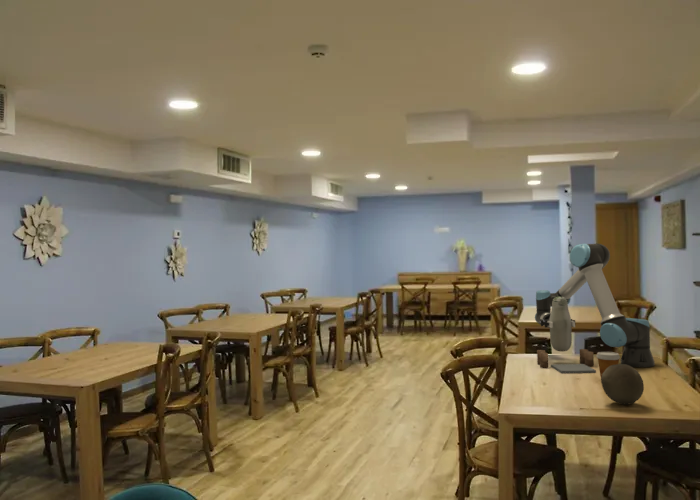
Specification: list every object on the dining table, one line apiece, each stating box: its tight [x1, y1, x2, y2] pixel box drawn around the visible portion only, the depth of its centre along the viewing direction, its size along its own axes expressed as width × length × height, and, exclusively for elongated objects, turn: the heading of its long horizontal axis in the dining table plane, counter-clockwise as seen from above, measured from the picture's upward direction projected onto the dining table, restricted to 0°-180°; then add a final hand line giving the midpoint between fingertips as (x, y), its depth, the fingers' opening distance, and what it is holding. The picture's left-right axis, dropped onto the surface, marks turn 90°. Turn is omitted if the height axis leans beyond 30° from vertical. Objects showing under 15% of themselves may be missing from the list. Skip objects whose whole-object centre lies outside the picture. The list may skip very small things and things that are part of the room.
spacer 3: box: [579, 348, 589, 365], centre depth 293 cm, size 4×4×7 cm
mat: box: [550, 363, 597, 375], centre depth 278 cm, size 16×16×1 cm
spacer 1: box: [536, 349, 546, 366], centre depth 293 cm, size 4×4×7 cm
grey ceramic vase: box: [549, 297, 573, 352], centre depth 293 cm, size 10×10×28 cm
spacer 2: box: [539, 352, 550, 369], centre depth 285 cm, size 4×4×7 cm
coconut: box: [600, 363, 645, 406], centre depth 214 cm, size 14×14×15 cm
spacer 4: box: [584, 350, 595, 368], centre depth 286 cm, size 4×4×7 cm
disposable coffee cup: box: [596, 351, 621, 378], centre depth 253 cm, size 10×10×12 cm
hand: (563, 324), depth 289 cm, fingers closed on grey ceramic vase, 10 cm apart
